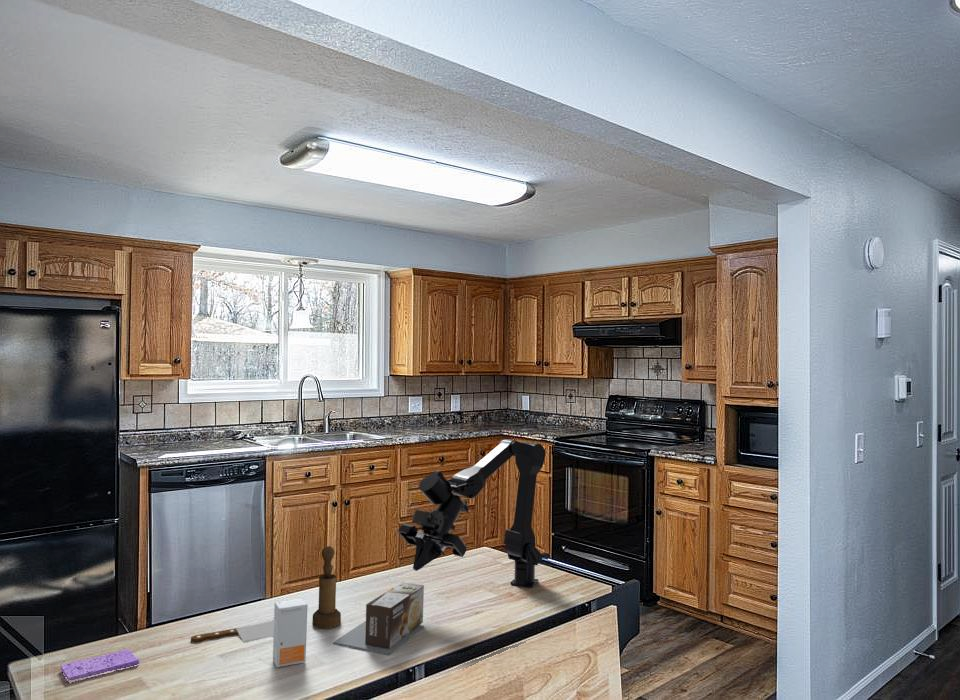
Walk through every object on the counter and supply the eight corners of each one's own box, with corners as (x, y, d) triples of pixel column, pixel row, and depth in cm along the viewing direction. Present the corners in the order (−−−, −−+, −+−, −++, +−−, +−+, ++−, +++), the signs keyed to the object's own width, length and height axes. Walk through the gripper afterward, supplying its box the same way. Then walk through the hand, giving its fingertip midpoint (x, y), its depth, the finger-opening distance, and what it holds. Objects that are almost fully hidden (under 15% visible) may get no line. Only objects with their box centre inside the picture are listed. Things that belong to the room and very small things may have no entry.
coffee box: (400, 581, 162) (365, 602, 147) (424, 584, 160) (391, 606, 145) (399, 620, 162) (364, 644, 147) (423, 624, 160) (390, 649, 145)
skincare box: (276, 668, 136) (277, 608, 136) (272, 660, 140) (273, 601, 140) (306, 662, 139) (308, 604, 139) (302, 654, 143) (303, 597, 143)
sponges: (60, 674, 133) (60, 664, 133) (130, 656, 142) (130, 647, 142) (67, 687, 128) (68, 677, 128) (139, 668, 136) (139, 658, 137)
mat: (372, 618, 164) (372, 616, 164) (424, 627, 158) (424, 625, 158) (332, 643, 148) (333, 641, 148) (388, 655, 143) (388, 653, 143)
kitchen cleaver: (196, 651, 143) (189, 632, 151) (196, 655, 143) (188, 636, 151) (310, 630, 155) (297, 613, 164) (309, 634, 155) (296, 617, 164)
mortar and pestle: (346, 621, 161) (347, 545, 162) (329, 631, 155) (331, 552, 156) (323, 616, 164) (325, 542, 164) (306, 625, 158) (308, 548, 159)
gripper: (403, 492, 174) (371, 544, 165) (459, 502, 162) (428, 558, 153) (423, 517, 180) (393, 569, 171) (479, 528, 168) (450, 584, 159)
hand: (414, 569), depth 163 cm, fingers closed
